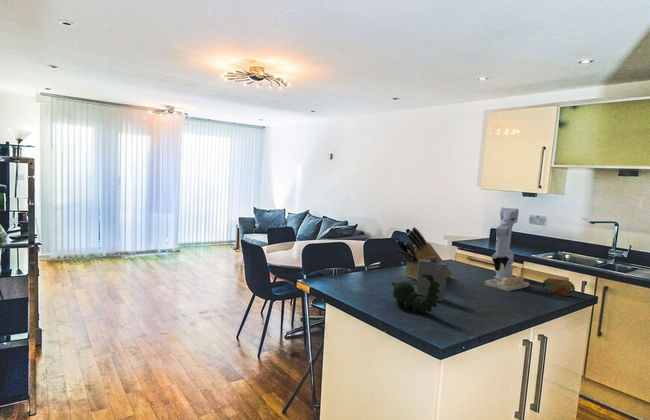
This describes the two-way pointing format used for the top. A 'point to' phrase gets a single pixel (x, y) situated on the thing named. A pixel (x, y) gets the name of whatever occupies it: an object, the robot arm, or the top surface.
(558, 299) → the top surface
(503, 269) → the cream egg
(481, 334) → the top surface
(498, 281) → the egg carton
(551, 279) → the tin
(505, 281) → the brown egg
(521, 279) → the brown egg
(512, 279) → the brown egg middle
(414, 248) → the knife block
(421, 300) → the toy figurine
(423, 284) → the flask
